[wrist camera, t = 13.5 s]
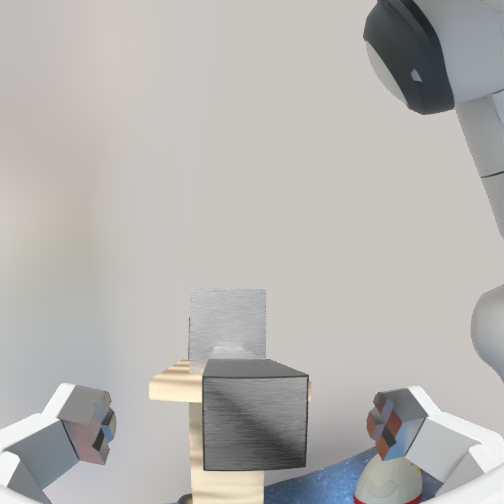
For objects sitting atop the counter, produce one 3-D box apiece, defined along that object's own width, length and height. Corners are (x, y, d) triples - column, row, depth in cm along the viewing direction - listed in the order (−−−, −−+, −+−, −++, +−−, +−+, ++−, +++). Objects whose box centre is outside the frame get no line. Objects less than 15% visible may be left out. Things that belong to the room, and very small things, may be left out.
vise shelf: (299, 616, 14) (323, 303, 24) (170, 618, 12) (138, 298, 22) (268, 525, 37) (272, 320, 47) (184, 525, 35) (178, 318, 45)
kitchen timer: (409, 516, 32) (422, 446, 36) (341, 506, 41) (347, 441, 45) (427, 484, 42) (436, 422, 46) (369, 479, 51) (375, 421, 55)
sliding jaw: (380, 453, 7) (371, 181, 9) (119, 461, 6) (133, 167, 8) (258, 369, 32) (259, 296, 34) (193, 368, 31) (194, 294, 34)
